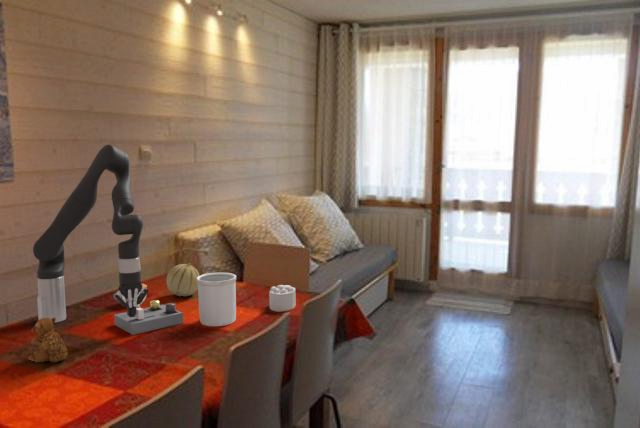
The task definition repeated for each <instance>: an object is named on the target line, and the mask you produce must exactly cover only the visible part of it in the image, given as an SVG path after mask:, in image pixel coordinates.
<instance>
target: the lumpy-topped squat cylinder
mask: <svg viewBox="0 0 640 428" xmlns="http://www.w3.org/2000/svg"><path fill="white" fill-rule="evenodd" d="M296 291H297V290H296V287H294V286H291V285H290V284H289V285H288V284H285V285H284V284H279V285H277V286H271V287H270V290H269V292H268V293H269V295H268V297H269V310H271V311H274V312H279V313H280V312H288V311H291V310H293V309H295V307H296V306H297V303H296V301H297V300H296V299H297V296H296V295H297V293H296Z"/></svg>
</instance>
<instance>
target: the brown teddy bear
mask: <svg viewBox="0 0 640 428" xmlns="http://www.w3.org/2000/svg"><path fill="white" fill-rule="evenodd" d="M55 321H56V318H55V317H54V318H52V319H50V318H41V319H40V320H39V319H38V320H37V321H36V323H35V325H33V327H32V328H31V330H30V332H32V333H34V329H35V332H36V334H37V337H34V338H32V339H31V341H30V344H31V345H32V346H37V347H38V348H37V349H36V350H35V351H34V352H33V354H30V355H29V356H28V360H29V361H30V360H31V362H33V361H35V362H34V363H46V362H45V361H47V362H50V363H58V362H62V361H64V360H66V359H67V357H68V355H69V353H68V349H67V348H68V347H66V343H64V340H63V338H62V337H60V336H61V333H58V331H55V328H54V324H55V323H56V322H55Z"/></svg>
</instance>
